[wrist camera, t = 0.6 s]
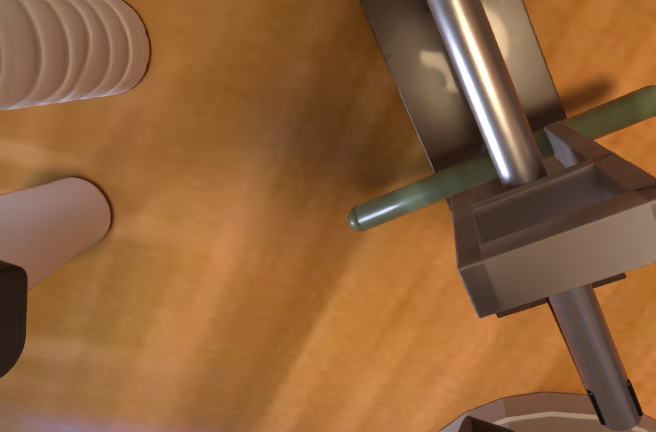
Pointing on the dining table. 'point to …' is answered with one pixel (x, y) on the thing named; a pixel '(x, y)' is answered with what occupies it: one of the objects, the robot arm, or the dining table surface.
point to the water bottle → (68, 50)
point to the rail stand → (497, 141)
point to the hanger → (543, 212)
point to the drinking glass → (51, 225)
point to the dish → (545, 414)
